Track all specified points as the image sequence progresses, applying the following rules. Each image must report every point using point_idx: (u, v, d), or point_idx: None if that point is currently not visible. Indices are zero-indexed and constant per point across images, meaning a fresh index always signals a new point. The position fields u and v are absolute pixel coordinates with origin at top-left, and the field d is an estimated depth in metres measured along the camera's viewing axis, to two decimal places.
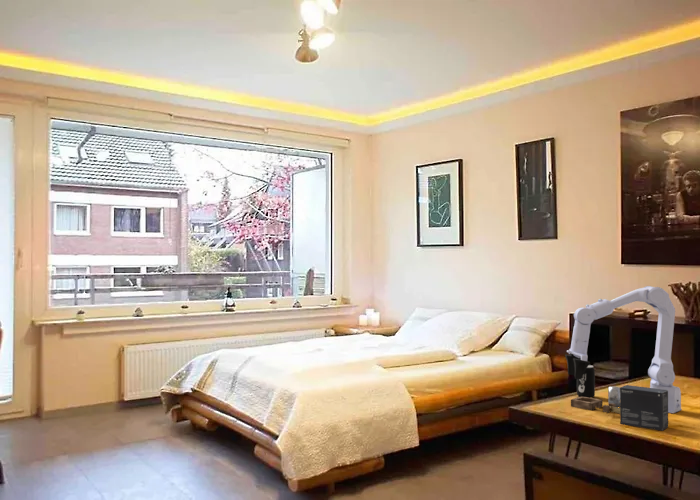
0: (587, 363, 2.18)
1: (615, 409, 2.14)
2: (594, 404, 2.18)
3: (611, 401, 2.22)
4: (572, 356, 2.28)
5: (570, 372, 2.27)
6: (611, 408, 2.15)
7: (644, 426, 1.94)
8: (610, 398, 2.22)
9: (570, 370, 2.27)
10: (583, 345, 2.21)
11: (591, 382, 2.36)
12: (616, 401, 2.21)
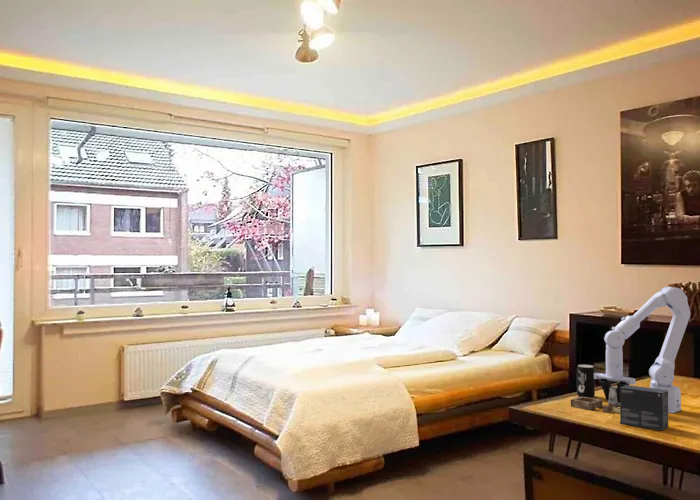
0: None
1: (615, 409, 2.14)
2: (594, 404, 2.18)
3: (611, 401, 2.22)
4: (607, 381, 2.24)
5: None
6: (611, 408, 2.15)
7: (644, 426, 1.94)
8: (610, 398, 2.22)
9: None
10: (622, 368, 2.21)
11: (591, 382, 2.36)
12: (616, 400, 2.21)
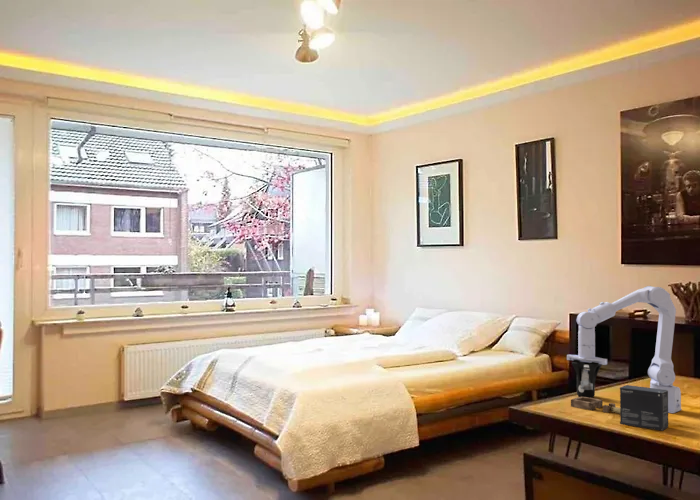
0: (600, 365, 2.20)
1: (615, 409, 2.14)
2: (594, 404, 2.18)
3: (583, 383, 2.22)
4: (580, 362, 2.24)
5: (580, 379, 2.24)
6: (611, 408, 2.15)
7: (644, 426, 1.94)
8: (582, 380, 2.22)
9: (580, 377, 2.24)
10: (594, 349, 2.21)
11: None
12: (587, 383, 2.21)
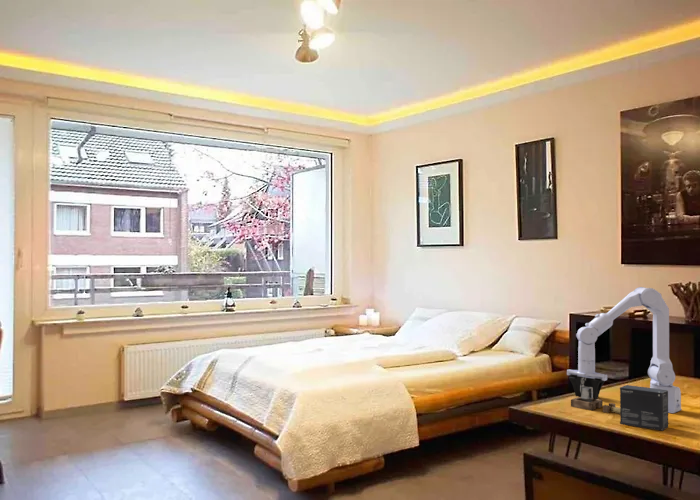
0: (603, 381, 2.19)
1: (615, 409, 2.14)
2: (594, 404, 2.18)
3: None
4: (577, 377, 2.25)
5: (577, 394, 2.24)
6: (611, 408, 2.15)
7: (644, 426, 1.94)
8: (582, 398, 2.22)
9: (577, 392, 2.24)
10: (594, 364, 2.21)
11: (591, 382, 2.36)
12: (587, 401, 2.21)
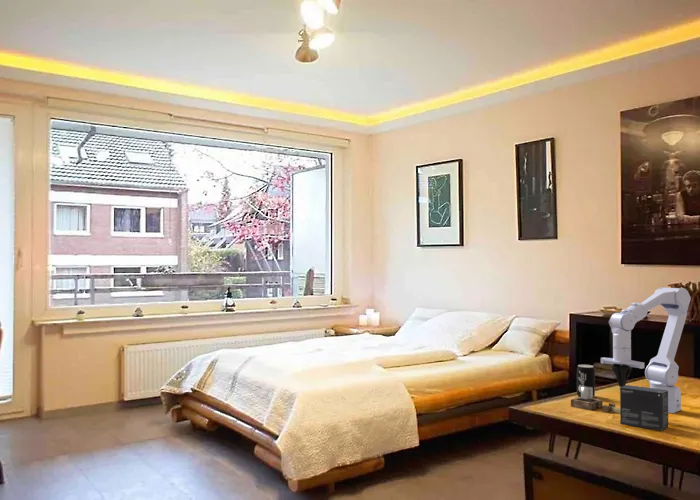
0: (631, 368, 2.12)
1: (615, 409, 2.14)
2: (594, 404, 2.18)
3: None
4: (620, 367, 2.13)
5: None
6: (611, 408, 2.15)
7: (644, 426, 1.94)
8: (582, 398, 2.22)
9: None
10: (630, 352, 2.11)
11: (591, 382, 2.36)
12: (587, 401, 2.21)
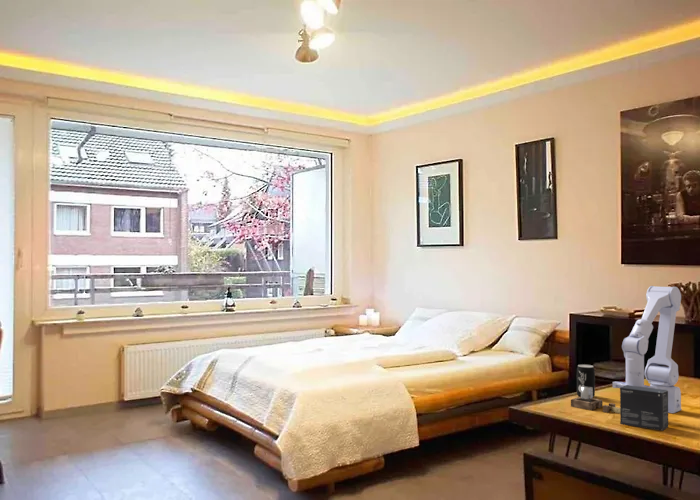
0: None
1: (613, 409, 2.14)
2: (594, 404, 2.18)
3: None
4: None
5: None
6: None
7: (644, 426, 1.94)
8: (582, 398, 2.22)
9: None
10: (643, 376, 2.08)
11: (591, 382, 2.36)
12: (587, 401, 2.21)
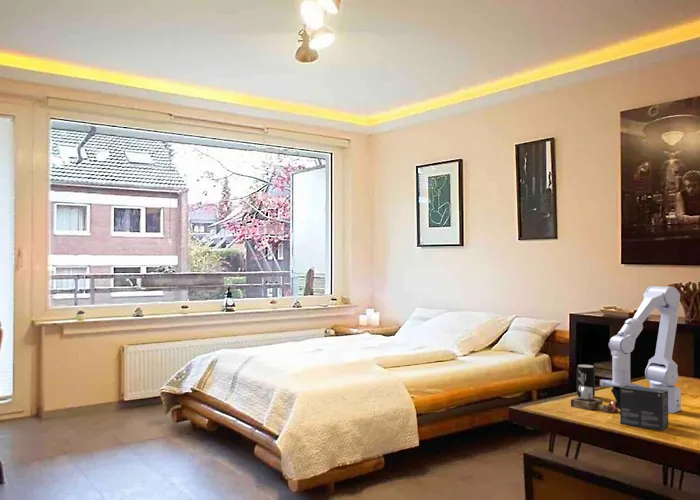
0: None
1: (601, 406, 2.18)
2: (594, 404, 2.18)
3: None
4: (619, 389, 2.13)
5: None
6: (597, 405, 2.19)
7: (644, 426, 1.94)
8: (582, 398, 2.22)
9: None
10: None
11: (591, 382, 2.36)
12: (587, 401, 2.21)
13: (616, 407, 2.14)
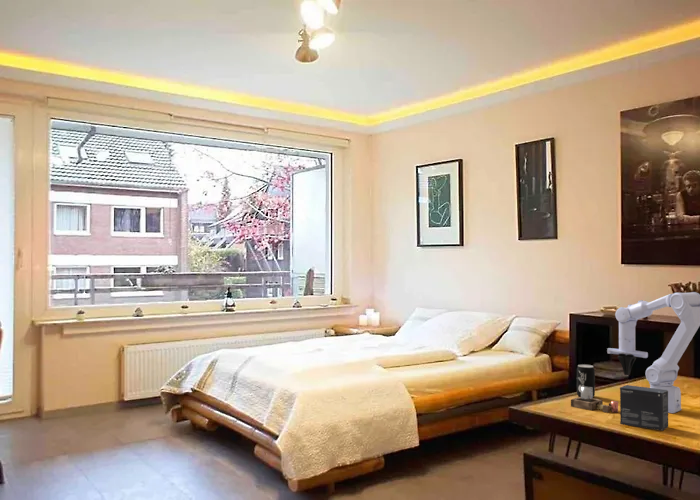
0: (635, 358, 2.32)
1: (601, 406, 2.18)
2: (594, 404, 2.18)
3: None
4: None
5: None
6: (597, 405, 2.19)
7: (644, 426, 1.94)
8: (582, 398, 2.22)
9: None
10: None
11: (591, 382, 2.36)
12: (587, 401, 2.21)
13: (616, 407, 2.14)
